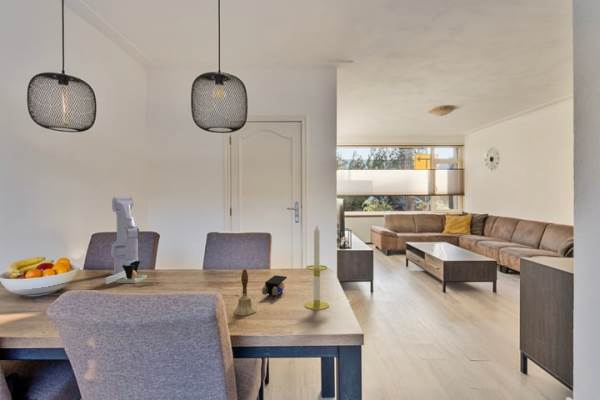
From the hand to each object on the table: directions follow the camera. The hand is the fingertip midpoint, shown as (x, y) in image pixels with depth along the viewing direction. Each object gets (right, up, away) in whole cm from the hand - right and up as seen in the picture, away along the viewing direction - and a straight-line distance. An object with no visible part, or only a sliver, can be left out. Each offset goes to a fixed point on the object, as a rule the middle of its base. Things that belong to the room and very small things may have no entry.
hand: (131, 276), depth 171 cm
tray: (0, -2, 0) cm, 2 cm away
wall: (-9, -2, +1) cm, 9 cm away
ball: (0, -2, 0) cm, 2 cm away
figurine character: (+77, -2, -27) cm, 82 cm away
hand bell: (+68, -2, -48) cm, 83 cm away
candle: (+95, -2, -41) cm, 104 cm away
